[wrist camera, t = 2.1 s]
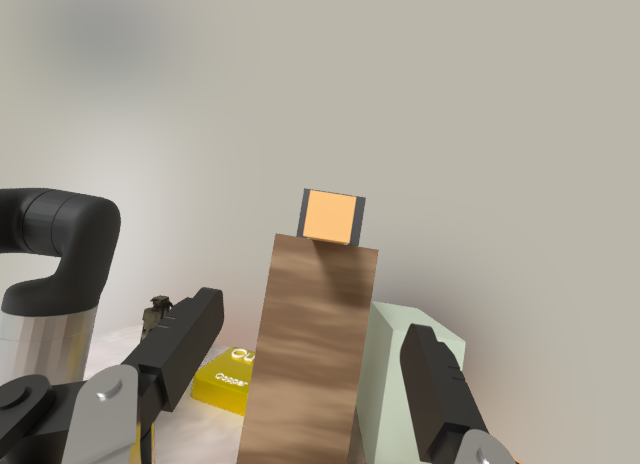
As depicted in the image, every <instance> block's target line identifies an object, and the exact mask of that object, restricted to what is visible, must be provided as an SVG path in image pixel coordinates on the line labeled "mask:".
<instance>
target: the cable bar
mask: <svg viewBox="0 0 640 464" xmlns="http://www.w3.org/2000/svg"><path fill="white" fill-rule="evenodd" d="M355 203H356V197H353V196H346V195H340V194H333V193H327V192H320V191H314V190H310V196H309V202H308V208H307V214H306V220H305V226H304V232H303V236H305V237H307V238H310V239H313V240H319V241H326V242H332V243H338V244H346V243H349V242H350V235H351V229H352V222H353V216H354V209H355Z"/></svg>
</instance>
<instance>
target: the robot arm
mask: <svg viewBox="0 0 640 464" xmlns="http://www.w3.org/2000/svg"><path fill="white" fill-rule="evenodd" d="M120 226H121V217H120V212H119V209H118V207H117V206H116V204H115V203H113V202H112V201H110V200H108V199H105V198H102V197H96V196H91V195H85V194H80V193H74V192H68V191H62V190H56V189H48V188H18V189H17V188H16V189H0V253H30V254H39V255H46V256H54V257H62V258H61V261H60V263H59V266H58V268H57V270H56V272H55V274H54V275H51V276H50V277H47V278H42V279H36V280H30V281H24V282H20V283H17V284H15V285H12V286H11V287H9V288H8V289H7V290H6V292H5V294H4V298H3V302H2V306H1V312H0V464H155V454H154V421H155V419H156V417H157V416H158V414H159V413H160V411H161V410H162V411H167V412H173V410H174V409H175V407H176V405H177V404H178V402H179V400H180V398H181V397H182V395H183V393H184V392H185V390H186V388H187V387H188V385H189V383H190V381H191V380H192V378H193V376H194V375H195V373H196V371H197V370H198V368H199V366H200V364H201V363H202V361H203V359H204V358H205V356H206V354H207V353H208V351H209V349H210V348H211V346H212V344H213V342H214V341H215V339H216V337H217V335H218V334H219V332H220V330H221V328H222V325H223V321H224V307H223V293H222V291H221V290H218V289H212V288H205V287H203V288H201V289H200V290H199V291H198V292H197V294H196V295H195V296H194V297H193V298H188V297H187V298H185V299H184V300H182V301H181V302H179V303H177V304H176V305H174V306H173V307H172V308H171V310H170V311H169V312H168V313H167V314H166V315H165V317H164V318H162V319H161V321H160V322H159V323H158V324H157V326H155V327H154V328H153V329H152V330H151V332H150V333H149V334H148V335H147V336H146V337H145V338H144V339H143V340H142V342H141V343H140V344H139V345H138V346H137V347H136V348H135V349H134V350H133V351H132V353H131V354H130V355H129V356H128V357H127V358H126V359H125V360H124V361H123V362H122V363H121V364H120V365H115V366H112V367H109V368H106V369H104V370H102V371H100V372H99V373H97V374H96V375H94V376H93V377H91V378H90V379H89V380H87V381H83V377H84V372H85V367H86V363H87V358H88V353H89V348H90V343H91V338H92V333H93V328H94V322H95V317H96V312H97V308H98V303H99V299H100V295H101V292H102V290H103V288H104V286H105V284H106V281H107V278H108V274H109V270H110V266H111V262H112V258H113V255H114V251H115V248H116V244H117V240H118V236H119V232H120ZM400 366H401V371H402V376H403V381H404V386H405V391H406V395H407V400H408V405H409V410H410V415H411V420H412V425H413V430H414V434H415V439H416V444H417V449H418V454H419V459H420V461H421V462H426V463H432V464H519V463H517V462H516V461H514V459H513V457H512V456H511V454H510V453H509V451H508V450H507V449H506V448H505V447H504V446H503V445H502V444H501V443H500V442H499V441H498V440H497V439H496V438H494V437H493V436H492V435H490V434H489V432H488V430H487V428H486V426H485V424H484V421H483V419H482V417H481V414H480V412H479V410H478V407H477V405H476V403H475V401H474V398H473V396H472V394H471V391H470V389H469V387H468V385H467V383H466V382H465V378H464V375H463V373H462V371H460V366H459V364H458V362H457V359H456V357H455V355H454V354H453V352H452V351H451V350H450V349H449V348H448V346H447V345H446V344H445V343H444V342H439V341H437V338H436V335H435V333H434V330H433V328H432V327H431V326H426V325H420V324H414V323H411V324H410V326H409V328H408V331H407V333H406V336H405V338H404V341H403V343H402V346H401V349H400Z"/></svg>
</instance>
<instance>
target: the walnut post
mask: <svg viewBox="0 0 640 464" xmlns="http://www.w3.org/2000/svg"><path fill="white" fill-rule="evenodd" d="M377 256H378V250H375V249H369V248H363V247H357V246H350V245H344V244H338V243H332V242H326V241H319V240H313V239H307V238H301V237H294V236H288V235H282V234H276V235H275V240H274V246H273V252H272V258H271V264H270V270H269V276H268V281H267V287H266V294H265V299H264V305H263V311H262V317H261V323H260V328H259V334H258V340H257V346H256V352H255V358H254V364H253V369H252V375H251V381H250V387H249V393H248V399H247V405H246V410H245V416H244V422H243V428H242V434H241V440H240V446H239V452H238V457H237V463H236V464H347V459H348V452H349V446H350V439H351V432H352V426H353V419H354V412H355V405H356V399H357V392H358V385H359V378H360V372H361V365H362V358H363V351H364V345H365V338H366V331H367V325H368V318H369V311H370V304H371V297H372V290H373V283H374V277H375V270H376V264H377Z"/></svg>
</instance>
